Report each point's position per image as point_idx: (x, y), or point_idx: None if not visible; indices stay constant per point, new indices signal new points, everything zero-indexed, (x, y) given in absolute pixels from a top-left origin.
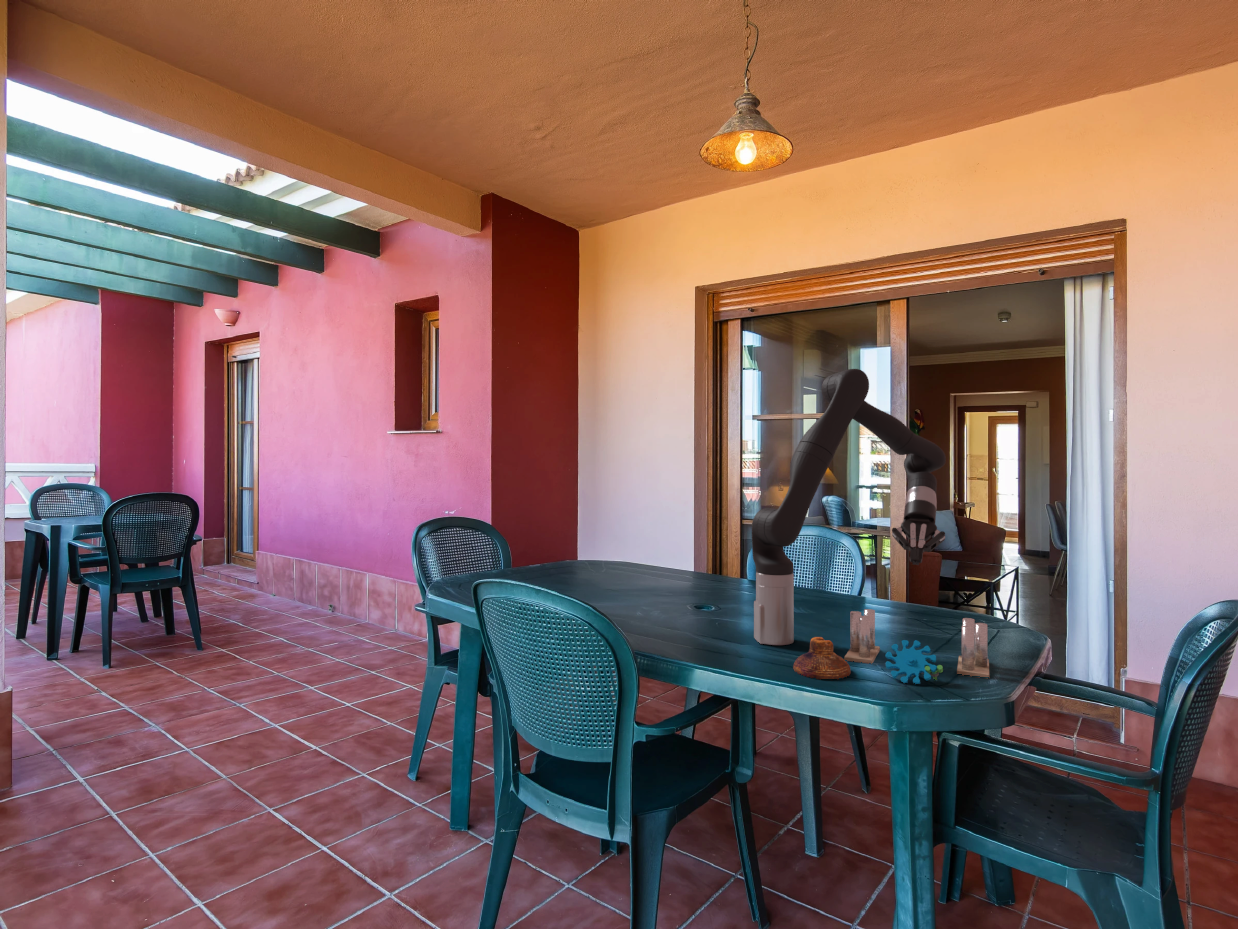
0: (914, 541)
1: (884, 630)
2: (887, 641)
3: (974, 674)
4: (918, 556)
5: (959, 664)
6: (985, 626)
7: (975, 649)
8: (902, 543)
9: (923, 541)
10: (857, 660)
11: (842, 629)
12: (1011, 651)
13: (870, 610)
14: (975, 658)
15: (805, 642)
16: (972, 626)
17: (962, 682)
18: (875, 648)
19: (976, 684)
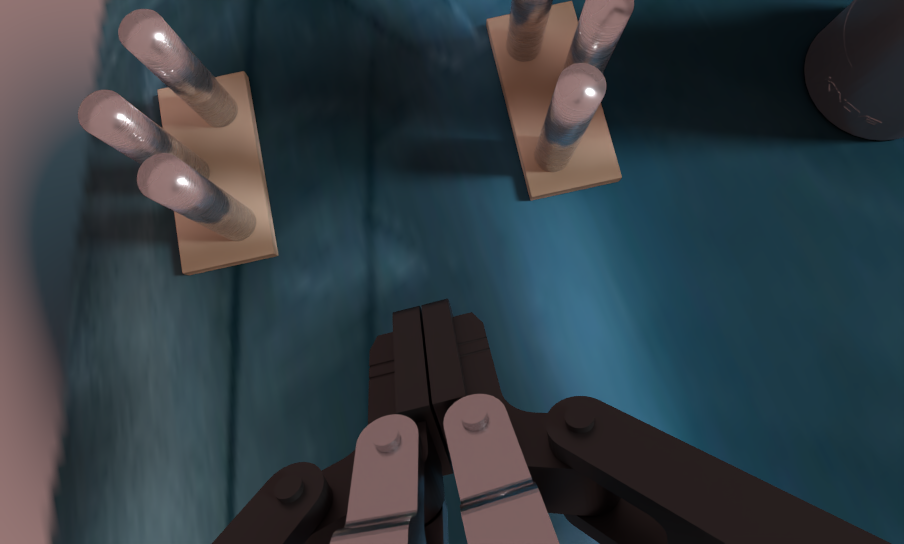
0: (472, 473)
1: None
2: (555, 342)
3: None
4: (397, 333)
5: (251, 143)
6: (86, 100)
7: (179, 142)
8: (654, 527)
9: (353, 512)
10: None
11: (780, 423)
12: (139, 494)
13: (575, 82)
14: (195, 154)
15: (780, 132)
16: (126, 47)
17: (222, 16)
18: (533, 161)
19: (187, 22)
